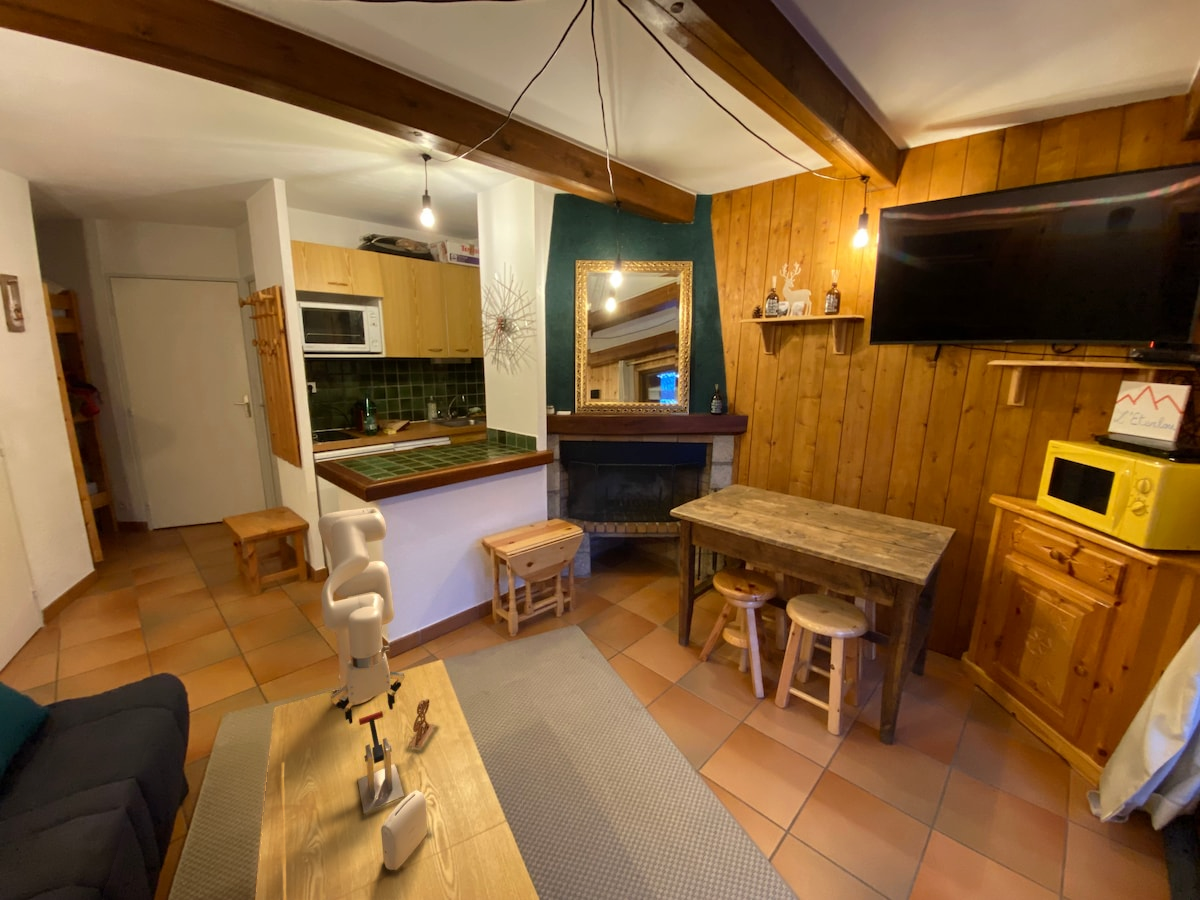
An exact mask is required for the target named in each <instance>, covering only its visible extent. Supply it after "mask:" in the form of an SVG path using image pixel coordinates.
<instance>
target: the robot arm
mask: <svg viewBox="0 0 1200 900" xmlns="http://www.w3.org/2000/svg"><path fill="white" fill-rule="evenodd" d="M317 528H318V532H319V535H320V537H321V540H322V542H323V544H324V545H325V547H326V549H327V551H328V553H329V555H330V563H331V570H332V571H331V573H330V574H329V575H328V577H327V578H326V579H325V582H324V584H323V587H322V590H321V595H320V596H321V598H320V600H321V610H322V611H321V612H322V620H323V623H324V627H325V628H326V629H327V630H328V631H329V632H334V633H335V637H336V645H337V656H338V666H339V668H338V669H339V675H338V676H337V680H338V681H339V682H340V687H338V689H337V691H336V692H335V693H333V694H332V695H331V696H330V701H331V702H332V703H333V704H334V705H335V706H336V707H337V708H338V709H340V710H342V711H344V719H345V721H347V720H348V724H349V725H351V724H352V723H353V709H352V707H353V706H357V705H360V704H363V703H366V702H368V701H370V700H371V699H373V698H374V697H376V696H379V695H382V694H384V693H386V694H387V695H386V696H387V705H388V709H389V710H393V709H394V705H395V703H396V698H395V696H396V695H397V691H398V690H399V689H400V688H401V687H402V684H403V682H404V680H405V678H406V676H405V673H404V672H396V671H390V666H389V661H388V657H387V654H386V652H389V651H390V646H389V645H388V644H387V645H384V644H383V630H382V629H383V626H384V625H387V624H390V623H391V622H392V621H393V620H394V617H395V605H394V598H393V592H392V591H393V590H392V584H391V576H390V571H389V567H388V565H387V564H386V563H385V562H384V561H382V560H373V561H370V560H371V559H370V554H369V549H368V544H367V543H372V542H377V541H381V540H384V539H385V538H386V535H387V523H386V519H385V518H384V515H383V514H382V513H381V512H380V510H379V509H378V508H377V507H373V506H372V507H363V508H362V507H361V508H355V509H346V510H339V511H333V512H328V513H325V514H324V515H322V516H320V517H319V518H318V522H317ZM335 594H336V595H337V596H338V597H339V598H343V599H339V600H334V595H335ZM392 680H395V682H393V684H392V682H391V681H392ZM338 690H339V691H338Z"/></svg>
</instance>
